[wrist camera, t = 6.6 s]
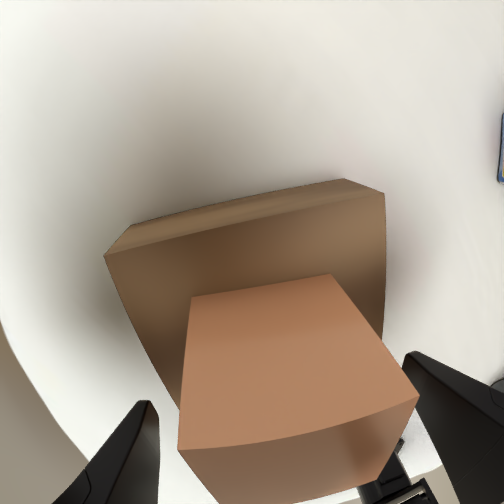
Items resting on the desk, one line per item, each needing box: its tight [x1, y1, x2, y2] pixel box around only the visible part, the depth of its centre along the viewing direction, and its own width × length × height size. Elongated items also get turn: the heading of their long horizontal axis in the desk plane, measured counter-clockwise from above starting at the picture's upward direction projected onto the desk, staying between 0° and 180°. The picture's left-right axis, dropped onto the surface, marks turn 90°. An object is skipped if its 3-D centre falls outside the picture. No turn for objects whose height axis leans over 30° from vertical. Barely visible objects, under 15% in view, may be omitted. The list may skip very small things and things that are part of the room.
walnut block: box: [104, 179, 386, 410], centre depth 13 cm, size 10×10×4 cm
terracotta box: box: [177, 274, 420, 504], centre depth 8 cm, size 5×5×6 cm
